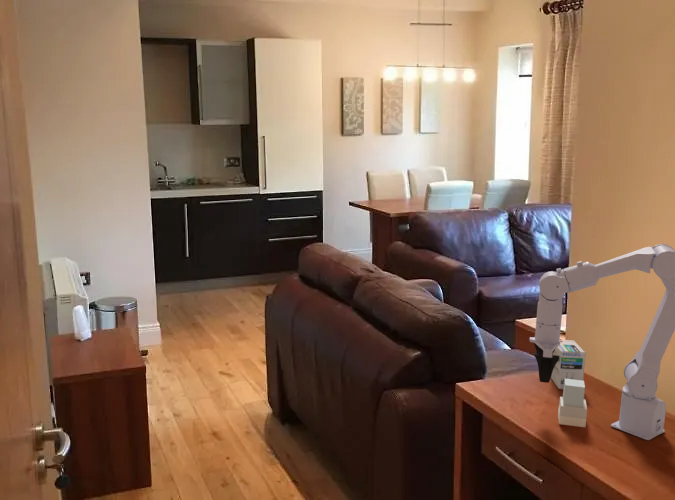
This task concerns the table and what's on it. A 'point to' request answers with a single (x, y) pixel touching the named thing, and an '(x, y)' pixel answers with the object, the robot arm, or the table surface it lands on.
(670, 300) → the robot arm
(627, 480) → the table surface
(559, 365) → the light bulb box
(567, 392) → the pale blue block
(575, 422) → the cream slab
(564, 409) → the beige block
